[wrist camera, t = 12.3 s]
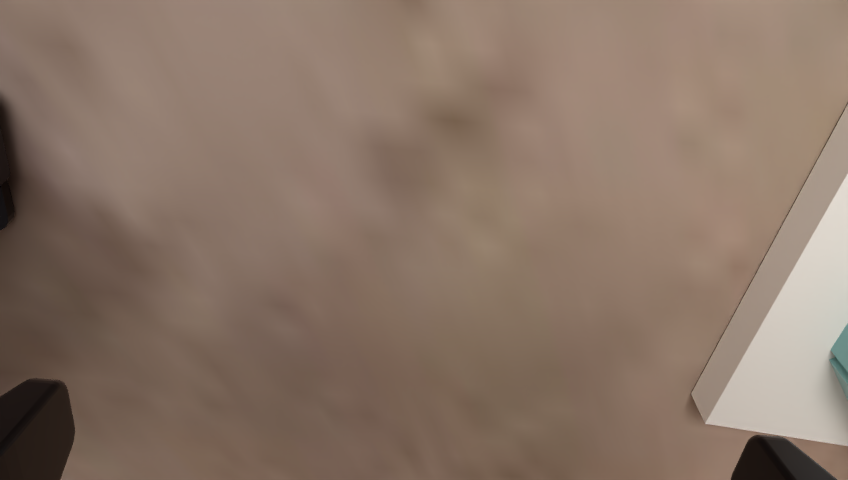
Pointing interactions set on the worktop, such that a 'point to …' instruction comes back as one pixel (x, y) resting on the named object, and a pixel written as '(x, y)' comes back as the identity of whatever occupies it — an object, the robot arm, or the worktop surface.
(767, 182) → the worktop surface
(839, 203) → the pallet
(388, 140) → the worktop surface
